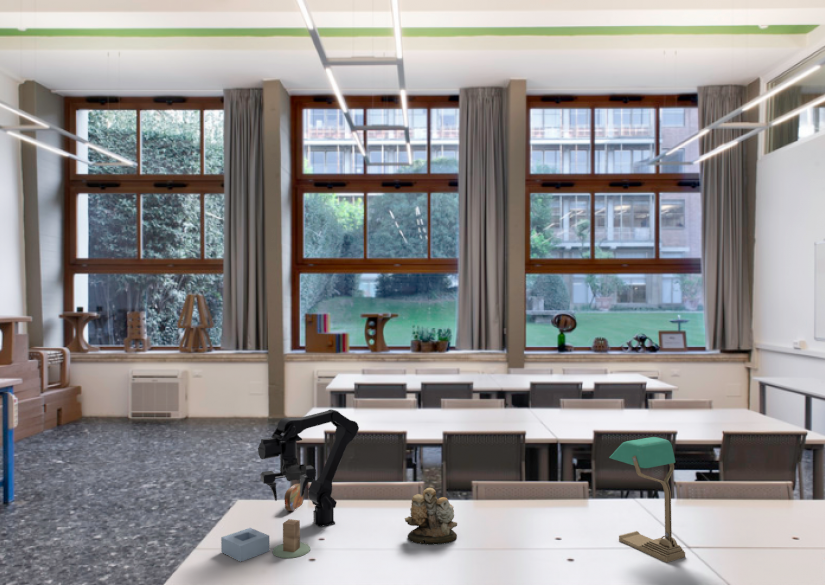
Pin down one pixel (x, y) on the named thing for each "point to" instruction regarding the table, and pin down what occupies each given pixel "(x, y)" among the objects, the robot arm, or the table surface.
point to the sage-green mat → (284, 554)
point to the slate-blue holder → (245, 544)
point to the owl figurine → (431, 519)
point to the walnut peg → (291, 535)
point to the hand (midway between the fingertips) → (288, 498)
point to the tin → (293, 498)
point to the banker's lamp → (658, 454)
